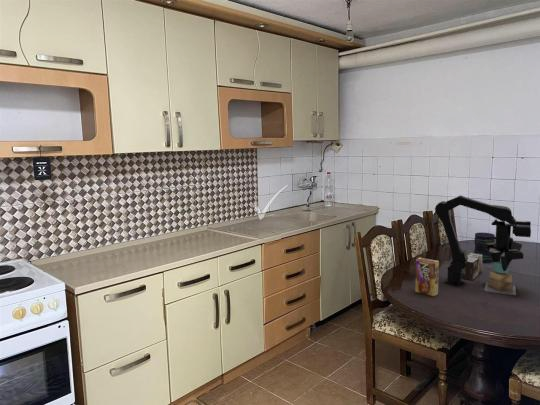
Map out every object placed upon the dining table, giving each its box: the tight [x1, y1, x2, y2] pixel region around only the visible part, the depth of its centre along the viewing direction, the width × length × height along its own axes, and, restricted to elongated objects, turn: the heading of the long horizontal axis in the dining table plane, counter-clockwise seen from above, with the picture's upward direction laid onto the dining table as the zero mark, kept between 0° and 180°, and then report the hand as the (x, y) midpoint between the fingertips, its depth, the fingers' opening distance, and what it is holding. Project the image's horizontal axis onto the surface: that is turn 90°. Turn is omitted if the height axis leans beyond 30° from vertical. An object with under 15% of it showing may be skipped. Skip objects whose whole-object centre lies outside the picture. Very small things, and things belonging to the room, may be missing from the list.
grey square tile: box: [483, 281, 517, 296], centre depth 184 cm, size 12×12×1 cm
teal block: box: [493, 260, 510, 273], centre depth 182 cm, size 4×4×4 cm
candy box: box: [414, 257, 440, 297], centre depth 181 cm, size 9×4×15 cm, turn 45°
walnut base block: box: [487, 278, 514, 291], centre depth 183 cm, size 7×7×4 cm
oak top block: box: [489, 270, 513, 283], centre depth 183 cm, size 6×6×4 cm
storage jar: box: [473, 232, 496, 264], centre depth 225 cm, size 10×10×15 cm
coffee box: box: [461, 252, 483, 281], centre depth 203 cm, size 9×6×16 cm
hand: (501, 269), depth 182 cm, fingers closed on teal block, 4 cm apart
